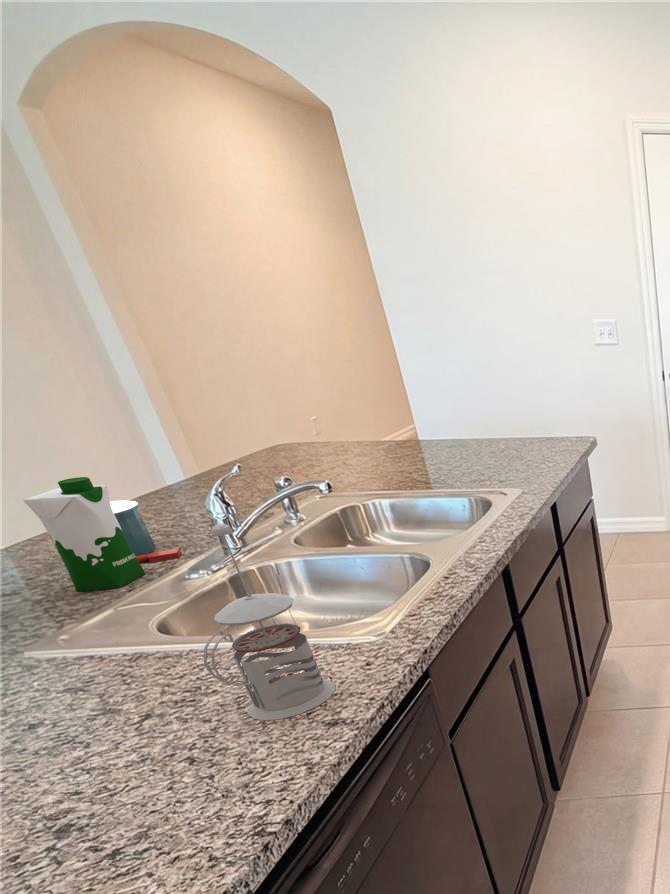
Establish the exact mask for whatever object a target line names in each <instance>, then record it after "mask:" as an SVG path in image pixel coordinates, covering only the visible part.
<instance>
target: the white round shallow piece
mask: <svg viewBox="0 0 670 894" xmlns="http://www.w3.org/2000/svg"><path fill="white" fill-rule="evenodd" d="M110 504H111V508H112V511H113V513H114V515H115V516H116V515H120V514H123V513H126V512H129V511H132V510H134V509H136V508H137V509H138V508H139V506H140V504H139V502H137V501H135V500H111V501H110Z"/></svg>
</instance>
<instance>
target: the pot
mask: <svg viewBox="0 0 670 894" xmlns="http://www.w3.org/2000/svg"><path fill="white" fill-rule="evenodd" d="M115 517H116V519H117V521H118V523H119V525H120V527H121V529H122V531H123V533H124V535H125V537H126V539H127V541H128V543H129V545H130V547H131V549H132V551H133V553H134V555H135V556H141V555H146V554H150V553H153V552H155V550H156V544H155V543H154V540H153V538H152V536H151V535H150V534H151V533H150V531H149V529H148V528H147V526H146V522H145V521H144V519H143V517H142V514H141V512H140V511H139V509H138V508H136V509H134V510H132V511H129V512H126V513H123V514H120V515H116V516H115ZM152 551H153V552H152Z"/></svg>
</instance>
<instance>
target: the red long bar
mask: <svg viewBox="0 0 670 894" xmlns="http://www.w3.org/2000/svg"><path fill="white" fill-rule="evenodd" d="M181 555H182V551H181V549H180V547H177V548H171V549H167V550H166V549H165V550H159V551H153V552H151V553H149V554H146V555H141V556H136V558H137V560H138V561H139V563H140V564H141V563H146V562H149V563H157V562H163V561H167V560H168V561H169V560H175V559H180V558H181Z"/></svg>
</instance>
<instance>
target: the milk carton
mask: <svg viewBox="0 0 670 894" xmlns="http://www.w3.org/2000/svg"><path fill="white" fill-rule="evenodd" d="M57 485H58V486H59V487H56V488H54V489H51V490H48V491H45V492H42V493H39V494H36V495H33V496H29V497H27V498H25V499H23V500H22V501H23V502H24V503H25V504H26V505H27V506H28V508H29V509H30V510H31V511H32V512H33V513H34V514H35V515H36V517H37V518H38V519H39V520H40V522H41V524H42V525H43V527H44V529H45V531H46V533H47V534H48V536H49V539H51V542H52V544H53V545H54V547H55V549H56V550H57V553H58V555H59V556H60V558H61V560H62V561H63V564H64V566H65V568H66V570H67V572H68V574H69V577H70V580H71V581H72V582H71V583H72V584H73V586H74V588H75V591H76V592H85V591H97V590H110V589H111V590H112V589H120V588H122V587H124V586H126V585H128V584H129V583H131V582H133V581H135V580H136V579H138V578H140V577H142V576H144V575H145V574H146V572H145V569H144V568H143V566H142V565H141V563H139V561H138V560H137V558H136V556H135V555H134V553H133V551H132V549H131V547H130V545H129V543H128V541H127V539H126V537H125V535H124V533H123V531H122V529H121V527H120V525H119V523H118V521H117V519H116V517H115V515H114V513H113V511H112V508H111V504H110V497H109V491H108V486H107V485H106V484H101V485H99V484H98V485H93V482H92V481H91V478H90V477H88V476H80V477H72V478H66V479H62V480H59V481H58V482H57Z"/></svg>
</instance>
